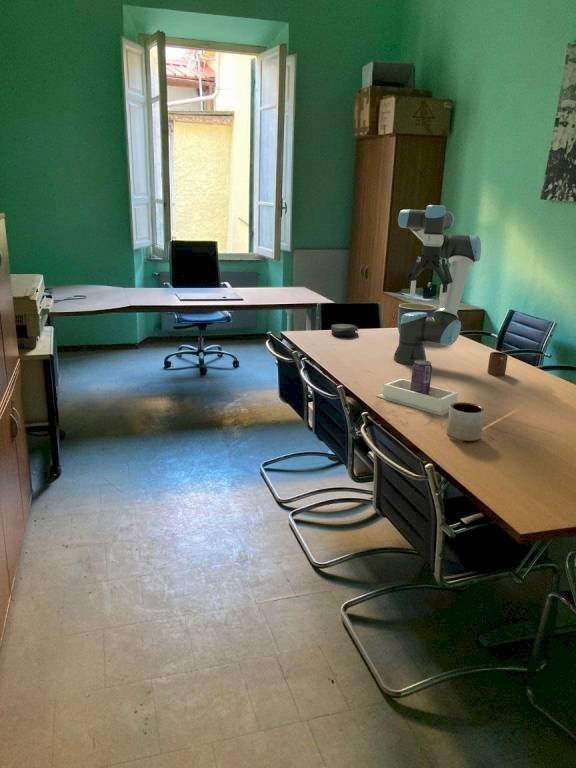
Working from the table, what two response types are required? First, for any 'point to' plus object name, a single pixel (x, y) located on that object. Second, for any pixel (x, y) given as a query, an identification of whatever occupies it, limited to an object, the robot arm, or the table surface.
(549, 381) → the table surface
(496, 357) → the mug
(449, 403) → the white rectangular tray
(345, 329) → the dark grey rounded block
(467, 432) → the planter
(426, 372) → the beverage can
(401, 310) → the planter
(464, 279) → the robot arm
